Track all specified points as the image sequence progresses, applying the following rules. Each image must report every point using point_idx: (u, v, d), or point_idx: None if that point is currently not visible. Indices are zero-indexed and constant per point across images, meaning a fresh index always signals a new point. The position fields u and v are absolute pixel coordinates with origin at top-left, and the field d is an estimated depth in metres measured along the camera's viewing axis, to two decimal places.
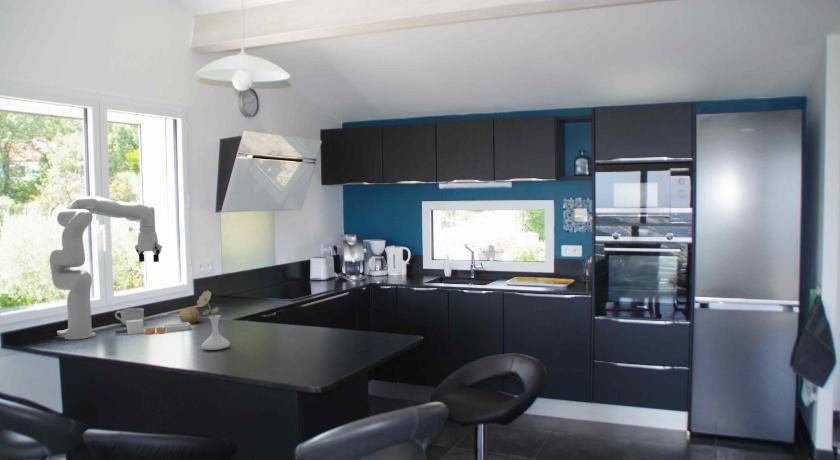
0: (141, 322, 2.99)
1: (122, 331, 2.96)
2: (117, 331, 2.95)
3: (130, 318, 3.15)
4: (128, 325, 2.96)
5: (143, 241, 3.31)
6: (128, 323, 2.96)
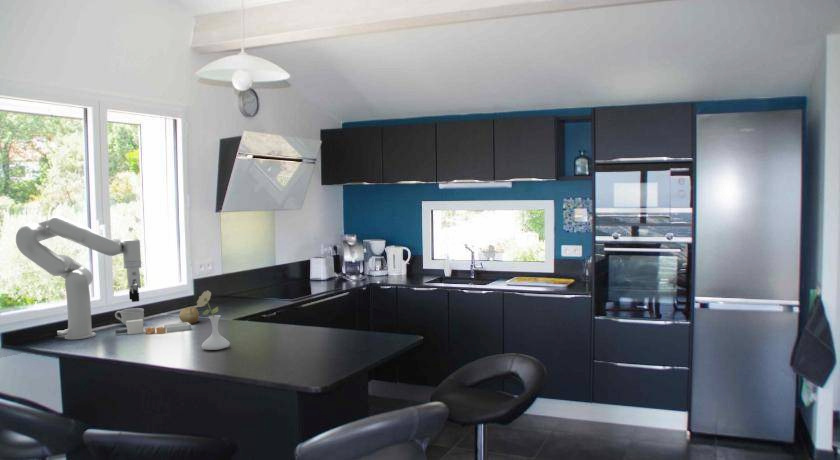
0: (141, 322, 2.99)
1: (122, 331, 2.96)
2: (117, 331, 2.95)
3: (130, 318, 3.15)
4: (128, 325, 2.96)
5: None
6: (128, 323, 2.96)
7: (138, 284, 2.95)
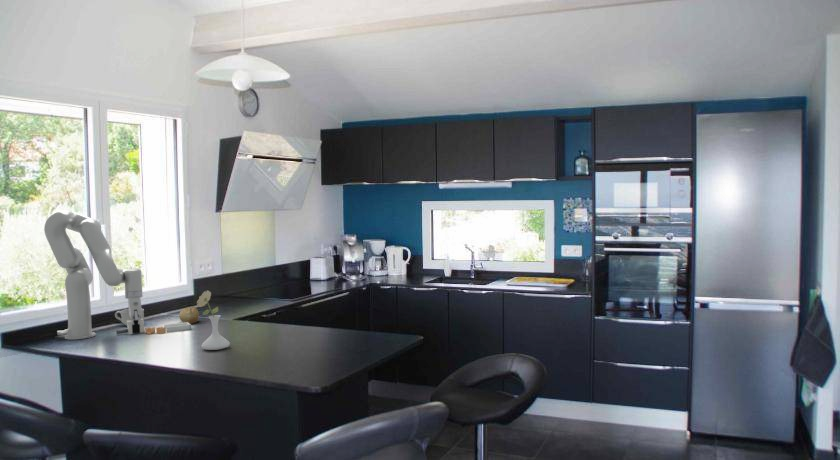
0: (142, 321, 2.99)
1: (123, 331, 2.96)
2: (118, 331, 2.95)
3: (130, 318, 3.15)
4: (129, 325, 2.97)
5: None
6: (129, 323, 2.96)
7: (139, 314, 2.96)
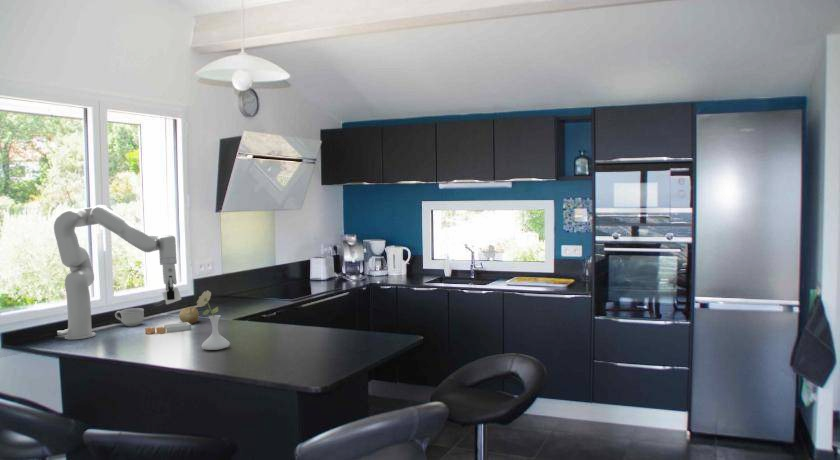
0: (176, 290, 3.01)
1: (160, 302, 2.99)
2: (156, 303, 2.98)
3: (130, 318, 3.15)
4: (165, 295, 2.98)
5: None
6: (164, 293, 2.98)
7: (174, 280, 2.98)
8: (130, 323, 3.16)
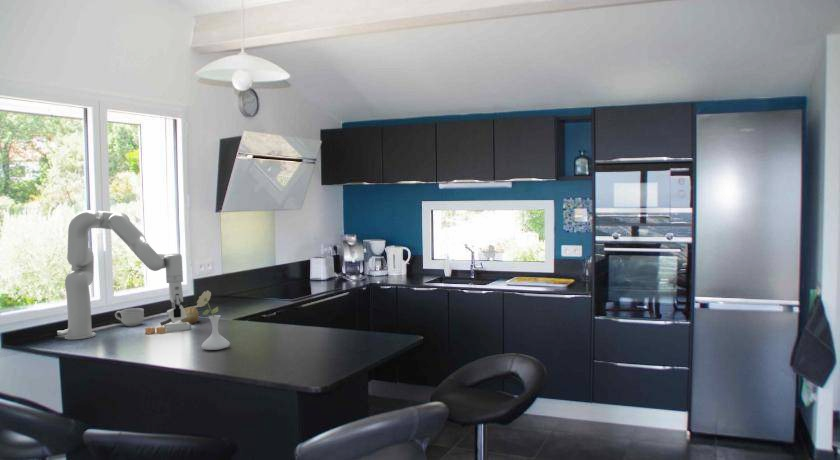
0: (181, 308, 3.04)
1: (167, 321, 3.01)
2: (162, 323, 3.00)
3: (130, 318, 3.15)
4: (170, 314, 3.01)
5: None
6: (169, 312, 3.01)
7: (181, 298, 3.00)
8: (130, 323, 3.16)
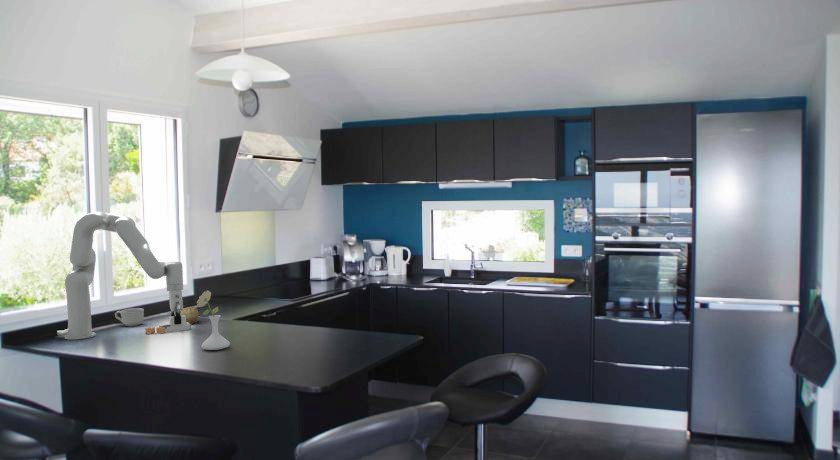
0: (184, 318, 3.04)
1: (166, 327, 3.01)
2: None
3: (130, 318, 3.15)
4: (171, 321, 3.02)
5: None
6: (171, 319, 3.01)
7: (181, 306, 3.01)
8: (130, 323, 3.16)
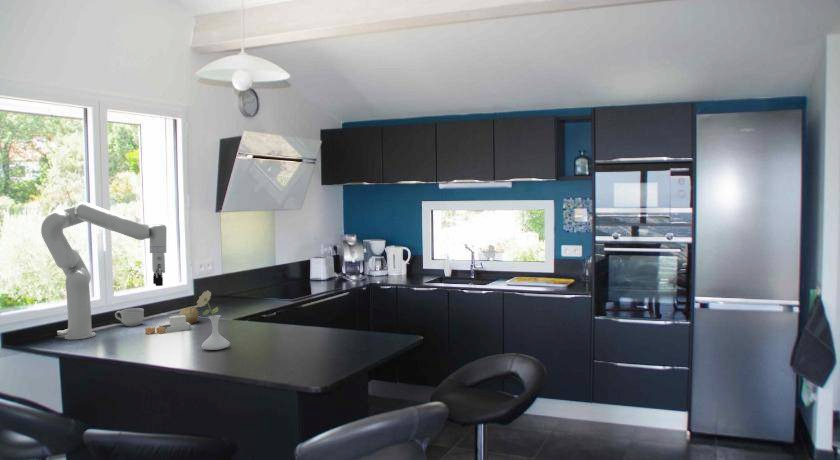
0: (184, 318, 3.04)
1: (166, 327, 3.01)
2: None
3: (130, 318, 3.15)
4: (171, 321, 3.02)
5: None
6: (171, 319, 3.01)
7: (162, 269, 3.01)
8: (130, 323, 3.16)
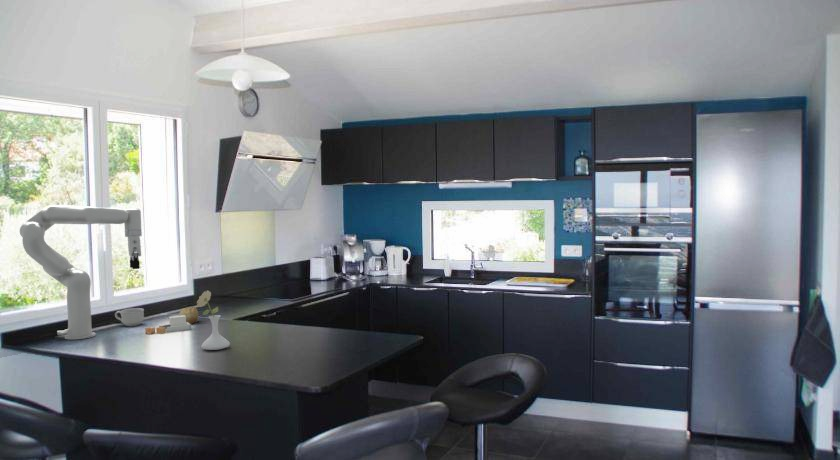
0: (184, 318, 3.04)
1: (166, 327, 3.01)
2: None
3: (130, 318, 3.15)
4: (171, 321, 3.02)
5: None
6: (171, 319, 3.01)
7: (138, 252, 3.04)
8: (130, 323, 3.16)
